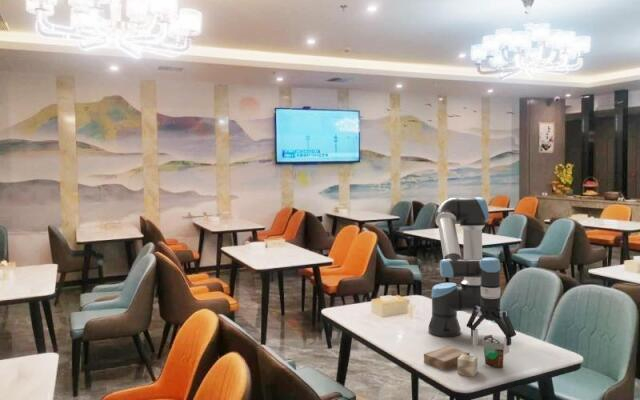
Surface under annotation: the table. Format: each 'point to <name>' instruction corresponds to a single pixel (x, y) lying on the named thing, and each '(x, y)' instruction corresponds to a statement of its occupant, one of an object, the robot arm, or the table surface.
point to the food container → (493, 352)
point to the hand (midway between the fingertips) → (490, 349)
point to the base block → (444, 357)
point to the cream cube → (467, 365)
